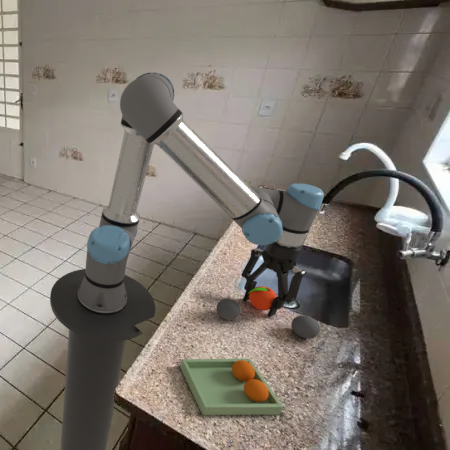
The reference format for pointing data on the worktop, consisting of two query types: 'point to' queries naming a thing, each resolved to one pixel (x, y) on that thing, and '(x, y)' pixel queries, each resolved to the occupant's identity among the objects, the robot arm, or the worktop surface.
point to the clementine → (262, 297)
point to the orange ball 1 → (243, 370)
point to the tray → (225, 389)
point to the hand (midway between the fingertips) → (258, 306)
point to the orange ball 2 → (256, 390)
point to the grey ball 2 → (305, 326)
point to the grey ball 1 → (228, 309)
